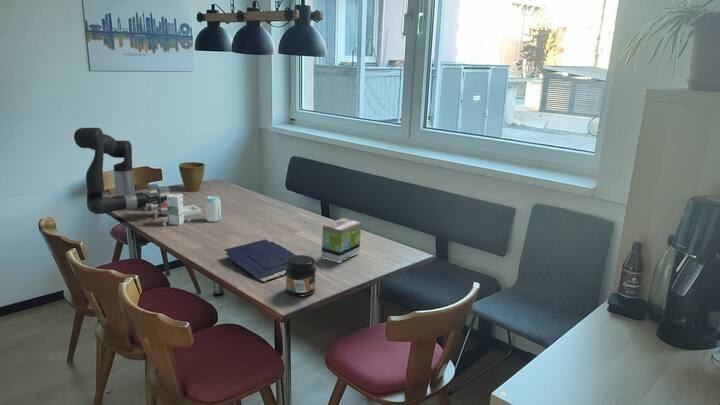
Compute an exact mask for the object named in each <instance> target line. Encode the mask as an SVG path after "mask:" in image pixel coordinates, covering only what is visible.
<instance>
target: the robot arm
mask: <svg viewBox="0 0 720 405" xmlns="http://www.w3.org/2000/svg"><path fill="white" fill-rule="evenodd" d="M73 139H74V142H75V144H76V146H78V147H79V148H82V149H88V150H89V149H90V150H92V151H94V157H93V159H92V161H91V162H90V165H89V166H88V169H87V170H86V174H85V182H86V183H85V184H86V190H87V194H86V206H87V207H86V208H87V209H88V211H89V212H91V213H93V214H95V215H102V214H103V215H104V214H108V213H112V212H119V211H125V210H135V209H143V208H144V207H145V206H147V205H148V203H149V204H153V205H155V204H159V203H164V201H166V200H167V196H157V193H146V192H145V193H144V192H135V186H134V174H133V147H132V143H131V141H129V140H116V139H115V138H114V137H112V136H110V135H109V134H105V133H103V130H102V128H100V127H80V128H78V129H76V130H75V132H74V135H73ZM104 154H106V155H108V156H110V157H112V158H117V159H123V161H122V162H117V163H116V164H114V165H113V175H114V176H113V177H114V188H115V196H112V197H107V198H104V196H103V193H104V190H105V184H104V175H103V174H104V173H103V171H104V170H103V169H104ZM152 195H153V196H152ZM160 199H161V200H160Z"/></svg>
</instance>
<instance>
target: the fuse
mask: <svg viewBox="0 0 720 405" xmlns="http://www.w3.org/2000/svg"><path fill="white" fill-rule="evenodd" d="M157 187H160V185H159V184H157V183H151V184H146V192H147V193H157ZM152 196H153V195H152ZM147 207H148V211H151V212H156V211H158V204H155V205H153V204H149V203H147Z"/></svg>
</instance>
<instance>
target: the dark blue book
mask: <svg viewBox="0 0 720 405" xmlns="http://www.w3.org/2000/svg"><path fill="white" fill-rule="evenodd" d="M223 251H224V252H225V255H226V256H228V258H229V259H230V260H231V261H233V262H234V263H236V264H237V265H239V266H240V267H241V268H243V270H245V271H246V272H248V273H249V274H250V275H251V276H253V277H254V278H255V279H256V280H258V281H260V279H262V278H264V277H265V278H266V277H268V276H271V275H274V274H275V273H278V272H281V271H284V270H286V268H287V266H288V259H289V258H290V257H292V256H296V253H293V251H292V252H291V251H290V250H288V249H287V248H286V247H284V246H282V245H281V244H278V243H276V242H274V241H268V240H267V239H260V240H257V241H254V242H250V243H245V244H241V245H238V246H234V247H230V248H225V249H223Z"/></svg>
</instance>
